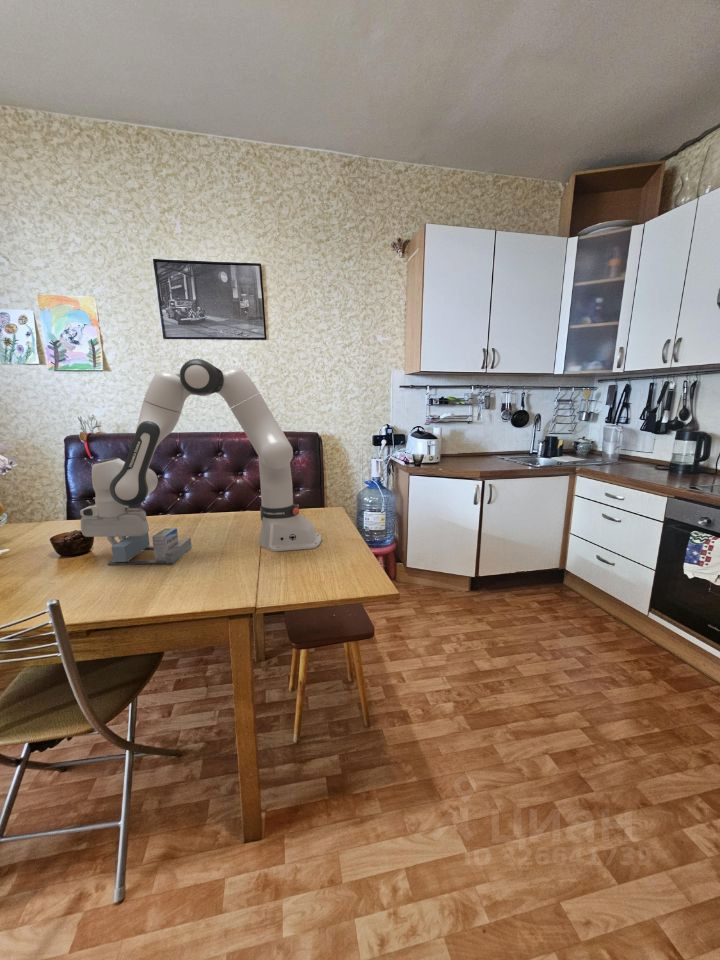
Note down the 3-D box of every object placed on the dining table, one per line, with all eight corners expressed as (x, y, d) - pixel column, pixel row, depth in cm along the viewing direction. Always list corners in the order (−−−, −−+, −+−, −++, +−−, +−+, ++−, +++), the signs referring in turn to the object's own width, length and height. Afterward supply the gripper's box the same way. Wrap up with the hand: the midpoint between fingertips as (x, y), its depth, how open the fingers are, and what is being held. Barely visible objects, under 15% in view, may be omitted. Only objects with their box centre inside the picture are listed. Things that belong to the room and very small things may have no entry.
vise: (191, 548, 136) (190, 537, 135) (172, 565, 122) (171, 553, 121) (132, 548, 136) (131, 537, 135) (107, 565, 122) (105, 553, 121)
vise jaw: (149, 545, 135) (148, 531, 134) (126, 561, 122) (124, 546, 121) (138, 545, 135) (136, 531, 134) (113, 561, 122) (111, 546, 121)
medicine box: (168, 561, 125) (165, 536, 123) (154, 561, 125) (151, 535, 123) (179, 552, 133) (177, 527, 131) (167, 551, 133) (164, 527, 131)
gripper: (150, 505, 129) (154, 544, 131) (88, 505, 128) (94, 545, 131) (139, 510, 122) (144, 551, 125) (74, 511, 122) (81, 552, 125)
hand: (118, 548), depth 128 cm, fingers closed
